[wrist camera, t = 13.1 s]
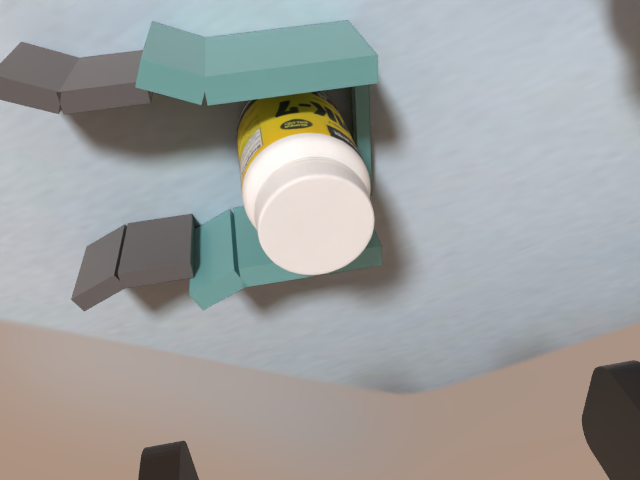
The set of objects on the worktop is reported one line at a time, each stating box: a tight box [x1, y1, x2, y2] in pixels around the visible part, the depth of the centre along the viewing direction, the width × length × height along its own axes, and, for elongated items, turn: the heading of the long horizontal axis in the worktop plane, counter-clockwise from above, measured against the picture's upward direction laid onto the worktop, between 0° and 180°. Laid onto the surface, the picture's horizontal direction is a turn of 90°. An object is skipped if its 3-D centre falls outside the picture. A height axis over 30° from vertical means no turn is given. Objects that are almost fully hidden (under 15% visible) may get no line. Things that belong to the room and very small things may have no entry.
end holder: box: [135, 20, 382, 310], centre depth 24 cm, size 9×11×5 cm
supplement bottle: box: [237, 91, 375, 275], centre depth 23 cm, size 5×5×8 cm
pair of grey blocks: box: [0, 42, 195, 311], centre depth 24 cm, size 5×10×4 cm, turn 5°
